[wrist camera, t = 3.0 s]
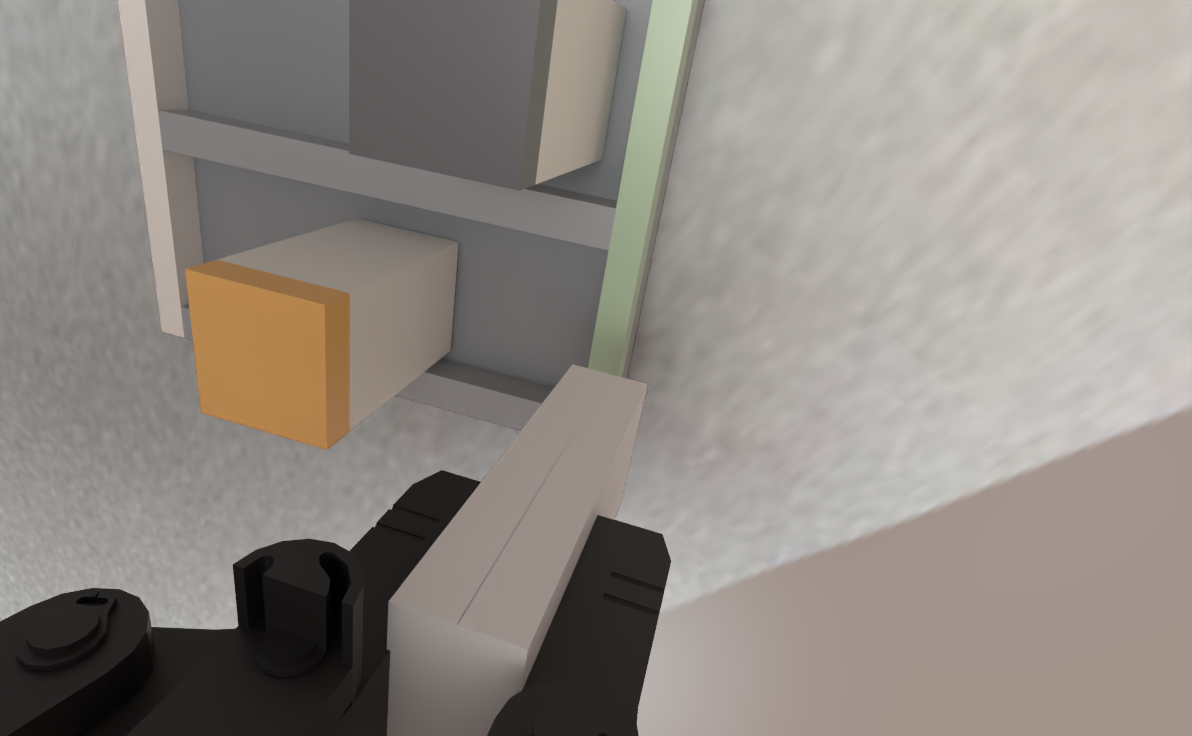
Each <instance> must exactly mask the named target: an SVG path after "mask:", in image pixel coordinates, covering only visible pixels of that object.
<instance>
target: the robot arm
mask: <svg viewBox="0 0 1192 736" xmlns="http://www.w3.org/2000/svg"><path fill="white" fill-rule="evenodd" d="M647 385H648V384H646V383H642V382H638V381H634V380H630V379H627V378H623V377H619V376H615V375H611V374H608V373H604V372H600V371H596V370H592V369H589V368H585V367H581V366H577V365H573V364H572V366H571V367H570V368H569V369H568V371H567V372H566V373H565V375H564V376H563V377H562V378H561V380H560V381H559V382H558V384H557V385H556V386H555V387H554V389H553V390H552V391H551V393H550V394H549V395H548V397H547V398H546V399H545V400H544V402H543V403H542V404H541V406H540V407H539V408H538V409H537V411H536V412H535V413H534V415H533V416H532V417H531V418H530V420H529V421H528V422H527V424H526V425H525V426H524V427H523V429H522V430H521V431H520V433H519V434H518V435H517V437H516V438H515V439H514V440H513V442H512V443H511V444H510V446H509V447H508V448H507V449H506V451H505V452H504V453H503V455H502V456H501V457H500V458H499V460H498V461H497V462H496V464H495V465H494V466H493V467H492V469H491V470H490V471H489V473H488V474H487V475H486V477H485V478H484V479H483V480H482V482H479V481H476V480H473V479H469V478H466V477H463V476H459V475H456V474H453V473H449V472H446V471H443V470H442V471H439V472H437V473H435V474H433V475H431V476H429V477H427V478H425V479H423V480H421V481H419V482H417V483H415V484H413V485H412V486H411V487H410V488H409V489H408V490H407V491H406V492H405V493H404V494H403V495H402V496H401V497H400V499H399V500H398V501H397V502H396V503H395V504H394V505H393V508H392V510H390V509H389V510H388V511H387V512H386V513H385V514H384V515H383V516H382V517H381V519H380V520H379V521H378V522H377V524H376V526H375V528H374V527H372V528H371V529H370V530H369V531H368V532H367V533H366V534H365V535H364V536H363V538H362V539H361V540H360V541H359V542H358V543H357V544H356V545H355V546H354V547H353V548H352V549H351V550H350V551H348V550H346V549H344V548H342V547H340V546H339V545H337V544H335V543H331V542H325V541H319V540H313V539H303V540H291V541H282V542H279V543H276V544H273V545H270V546H267V547H264V548H261V549H258V550H255V551H254V552H252V553H250V554H249V555H247V556H246V557H244V558H242V559H241V560H239V561H238V562H236V563H235V564H233V571H234V582H235V593H236V604H237V614H238V625H239V626H238V627H237V628H236V629H221V630H207V629H183V628H160V627H151V622H150V616H149V611H148V610H147V608H146V607H145V605H144V604H143V603H142V601H141V600H140V598H139V597H137V596H134V595H132V594H129V593H127V592H125V591H122V590H120V589H102V588H91V589H85V590H80V591H74V592H69V593H64V594H60V595H58V596H55V597H53V598H50V599H48V600H45V601H42V602H40V603H37V604H35V605H32V606H30V607H28V608H26V609H24V610H22V611H20V612H18V613H16V614H14V615H12V616H10V617H8V618H6V619H4V620H2V621H0V736H638V730H637V713H638V704H639V701H640V696H641V691H642V687H643V683H644V678H645V674H646V669H647V665H648V660H649V656H650V652H651V647H652V643H653V639H654V634H655V630H656V625H657V621H658V616H659V612H660V608H661V603H662V599H663V594H664V590H665V586H666V581H667V577H668V572H669V568H670V563H671V560H670V556H669V553H668V550H667V547H666V544H665V541H664V538H663V535H662V534H660V533H656V532H653V531H650V530H646V529H643V528H640V527H636V526H633V525H630V524H627V523H623V522H620V521H617V520H615V517H616V515H617V512H618V509H619V507H620V504H621V502H622V498H623V493H624V489H625V484H626V480H627V475H628V471H629V466H630V462H631V457H632V453H633V448H634V444H635V439H636V435H637V430H638V426H639V421H640V417H641V412H642V408H643V403H644V399H645V394H646V390H647Z"/></svg>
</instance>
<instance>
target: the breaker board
mask: <svg viewBox="0 0 1192 736" xmlns="http://www.w3.org/2000/svg"><path fill="white" fill-rule="evenodd" d="M614 1H615V2H617V3H618V4H620V5H622V6H623V7H625V8H626V9H627V10H626V16H625V22H624V28H623V35H622V41H621V47H620V53H619V59H618V66H617V72H616V78H615V84H614V90H613V96H612V103H611V109H610V115H609V121H608V127H607V134H606V140H605V146H604V152H603V158H602V160H599V161H597V162H594V163H591V164H589V165H586V166H583V167H581V168H578V169H575V170H573V171H570V172H567V173H565V174H562V175H559V176H557V177H554V178H552V179H549V180H546V181H544V182H541V183H538V184H536V185H533V186H530V187H528V188H525V189H522V190H520V191H518V190H514V189H509V188H505V187H500V186H495V185H491V184H486V183H481V182H477V181H472V180H467V179H463V178H458V177H454V176H449V175H444V174H440V173H435V172H430V171H426V170H421V169H417V168H412V167H407V166H403V165H398V164H393V163H389V162H384V161H379V160H375V159H370V158H366V157H361V156H356V155H352V154H349V0H118V5H119V13H120V20H121V28H122V35H123V43H124V51H125V58H126V66H127V73H128V81H129V88H130V96H131V103H132V111H133V118H134V126H135V134H136V141H137V149H138V156H139V164H140V171H141V179H142V186H143V194H144V201H145V209H146V217H147V224H148V232H149V239H150V247H151V254H152V262H153V269H154V277H155V284H156V292H157V300H158V307H159V315H160V322H161V330H162V332H165V333H169V334H172V335H176V336H180V337H183V338H187V339H190V340H193V336H192V327H191V318H190V309H189V300H188V291H187V282H186V273H185V269H187V268H190V267H194V266H197V265H200V264H204V263H207V262H211V261H214V260H217V259H221V258H224V257H228V256H231V255H234V254H238V253H241V252H244V251H248V250H251V249H255V248H258V247H261V246H265V245H268V244H272V243H275V242H278V241H282V240H285V239H289V238H292V237H295V236H299V235H302V234H306V233H309V232H312V231H316V230H319V229H322V228H326V227H329V226H333V225H336V224H339V223H343V222H346V221H350V220H353V219H356V218H358V219H362V220H367V221H371V222H375V223H379V224H384V225H388V226H392V227H397V228H401V229H405V230H410V231H414V232H418V233H423V234H427V235H431V236H435V237H440V238H444V239H448V240H453V241H457V242H459V245H458V258H457V272H456V285H455V298H454V312H453V325H452V339H451V351H450V352H448V353H447V354H446V355H445V356H443V357H442V358H441V359H440V360H438V361H437V362H436V363H435V364H433V365H432V366H431V367H430V368H428V369H427V370H426V371H425V372H423V373H422V374H421V375H420V376H418V377H417V378H416V379H415V380H413V381H412V382H411V383H410V384H408V385H407V386H406V387H405V388H403V389H402V390H401V391H400V392H398V393H397V394H396V395H395V396H397V397H401V398H405V399H408V400H412V401H415V402H419V403H423V404H426V405H430V406H434V407H437V408H441V409H445V410H448V411H452V412H455V413H459V414H463V415H466V416H470V417H474V418H477V419H481V420H484V421H488V422H492V423H495V424H499V425H503V426H506V427H510V428H513V429H517V430H522V429H523V427H524V426H525V425H526V424H527V422H528V421H529V420H530V418H531V417H532V416H533V415H534V413H535V412H536V411H537V409H538V408H539V407H540V406H541V404H542V403H543V402H544V400H545V399H546V398H547V397H548V395H549V394H550V393H551V391H552V390H553V389H554V387H555V386H556V385H557V384H558V382H559V381H560V380H561V378H562V377H563V376H564V375H565V373H566V372H567V371H568V369H569V368H570V367H571V366H572V364H573V365H577V366H581V367H585V368H589V369H592V370H596V371H600V372H604V373H608V374H611V375H615V376H619V377H623V378H627V375H628V370H629V366H630V361H631V356H632V351H633V346H634V341H635V337H636V332H637V327H638V322H639V317H640V312H641V307H642V303H643V298H644V293H645V288H646V283H647V278H648V273H649V269H650V264H651V259H652V254H653V249H654V244H655V239H656V235H657V230H658V225H659V220H660V215H661V210H662V205H663V201H664V196H665V191H666V186H667V181H668V176H669V171H670V167H671V162H672V157H673V152H674V147H675V142H676V137H677V133H678V128H679V123H680V118H681V113H682V108H683V103H684V99H685V94H686V89H687V84H688V79H689V74H690V69H691V65H692V60H693V55H694V50H695V45H696V40H697V35H698V31H699V26H700V21H701V16H702V11H703V6H704V1H705V0H614Z"/></svg>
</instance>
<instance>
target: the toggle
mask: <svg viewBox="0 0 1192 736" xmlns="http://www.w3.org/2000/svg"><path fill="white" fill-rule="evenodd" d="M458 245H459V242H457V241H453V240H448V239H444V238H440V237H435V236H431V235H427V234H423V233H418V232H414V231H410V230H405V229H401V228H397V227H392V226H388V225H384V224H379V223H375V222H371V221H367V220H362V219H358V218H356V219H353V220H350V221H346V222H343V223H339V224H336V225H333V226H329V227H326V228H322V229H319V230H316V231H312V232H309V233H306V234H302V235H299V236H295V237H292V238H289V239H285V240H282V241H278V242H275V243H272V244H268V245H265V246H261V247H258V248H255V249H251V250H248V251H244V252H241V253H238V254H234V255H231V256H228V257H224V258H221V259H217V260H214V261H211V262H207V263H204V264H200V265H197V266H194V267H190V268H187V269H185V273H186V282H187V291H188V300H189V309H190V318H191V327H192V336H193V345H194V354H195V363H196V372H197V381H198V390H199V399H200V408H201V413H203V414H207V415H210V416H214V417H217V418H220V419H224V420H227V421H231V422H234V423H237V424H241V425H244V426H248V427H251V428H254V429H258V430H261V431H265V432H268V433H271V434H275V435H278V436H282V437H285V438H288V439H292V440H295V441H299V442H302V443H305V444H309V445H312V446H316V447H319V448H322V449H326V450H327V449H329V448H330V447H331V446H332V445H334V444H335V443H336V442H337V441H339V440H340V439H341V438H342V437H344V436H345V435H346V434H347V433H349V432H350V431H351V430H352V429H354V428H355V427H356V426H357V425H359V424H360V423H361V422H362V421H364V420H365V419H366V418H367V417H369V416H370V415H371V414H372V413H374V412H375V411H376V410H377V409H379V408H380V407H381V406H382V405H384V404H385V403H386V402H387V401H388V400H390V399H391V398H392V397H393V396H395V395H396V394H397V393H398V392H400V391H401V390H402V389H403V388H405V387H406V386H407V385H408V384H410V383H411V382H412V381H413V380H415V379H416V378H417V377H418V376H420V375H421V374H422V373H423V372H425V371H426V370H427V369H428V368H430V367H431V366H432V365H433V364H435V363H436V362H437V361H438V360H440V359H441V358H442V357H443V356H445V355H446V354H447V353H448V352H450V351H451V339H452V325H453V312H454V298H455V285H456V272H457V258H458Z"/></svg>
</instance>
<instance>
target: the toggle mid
mask: <svg viewBox="0 0 1192 736" xmlns="http://www.w3.org/2000/svg"><path fill="white" fill-rule="evenodd" d="M626 10H627V9H626V8H625V7H623V6H622V5H620V4H618V3H617V2H615V1H614V0H349V154H352V155H356V156H361V157H366V158H370V159H375V160H379V161H384V162H389V163H393V164H398V165H403V166H407V167H412V168H417V169H421V170H426V171H430V172H435V173H440V174H444V175H449V176H454V177H458V178H463V179H467V180H472V181H477V182H481V183H486V184H491V185H495V186H500V187H505V188H509V189H514V190H518V191H520V190H522V189H525V188H528V187H530V186H533V185H536V184H538V183H541V182H544V181H546V180H549V179H552V178H554V177H557V176H559V175H562V174H565V173H567V172H570V171H573V170H575V169H578V168H581V167H583V166H586V165H589V164H591V163H594V162H597V161H599V160H602V158H603V152H604V146H605V140H606V134H607V127H608V121H609V115H610V109H611V103H612V96H613V90H614V84H615V78H616V72H617V66H618V59H619V53H620V47H621V41H622V35H623V28H624V22H625V16H626Z"/></svg>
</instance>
